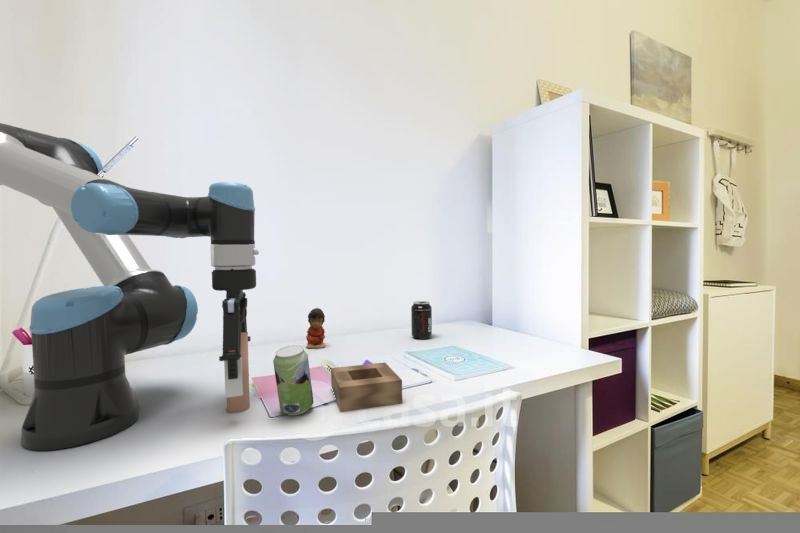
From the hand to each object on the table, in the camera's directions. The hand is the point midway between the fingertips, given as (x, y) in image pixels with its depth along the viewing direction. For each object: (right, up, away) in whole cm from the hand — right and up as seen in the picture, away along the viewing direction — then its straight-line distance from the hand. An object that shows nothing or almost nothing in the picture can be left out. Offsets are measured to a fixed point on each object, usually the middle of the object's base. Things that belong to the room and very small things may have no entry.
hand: (237, 384), depth 71 cm
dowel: (0, -4, 0) cm, 4 cm away
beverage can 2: (+38, -2, +55) cm, 67 cm away
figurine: (+5, -3, +45) cm, 45 cm away
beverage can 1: (+11, -5, -2) cm, 12 cm away
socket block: (+23, -4, +6) cm, 24 cm away
